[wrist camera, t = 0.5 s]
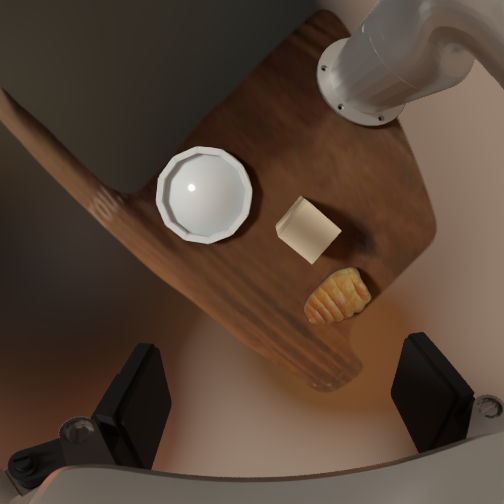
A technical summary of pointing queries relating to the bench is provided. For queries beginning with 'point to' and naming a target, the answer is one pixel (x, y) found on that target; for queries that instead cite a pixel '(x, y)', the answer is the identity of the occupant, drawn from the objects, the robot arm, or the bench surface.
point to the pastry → (337, 298)
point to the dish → (204, 194)
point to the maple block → (306, 230)
